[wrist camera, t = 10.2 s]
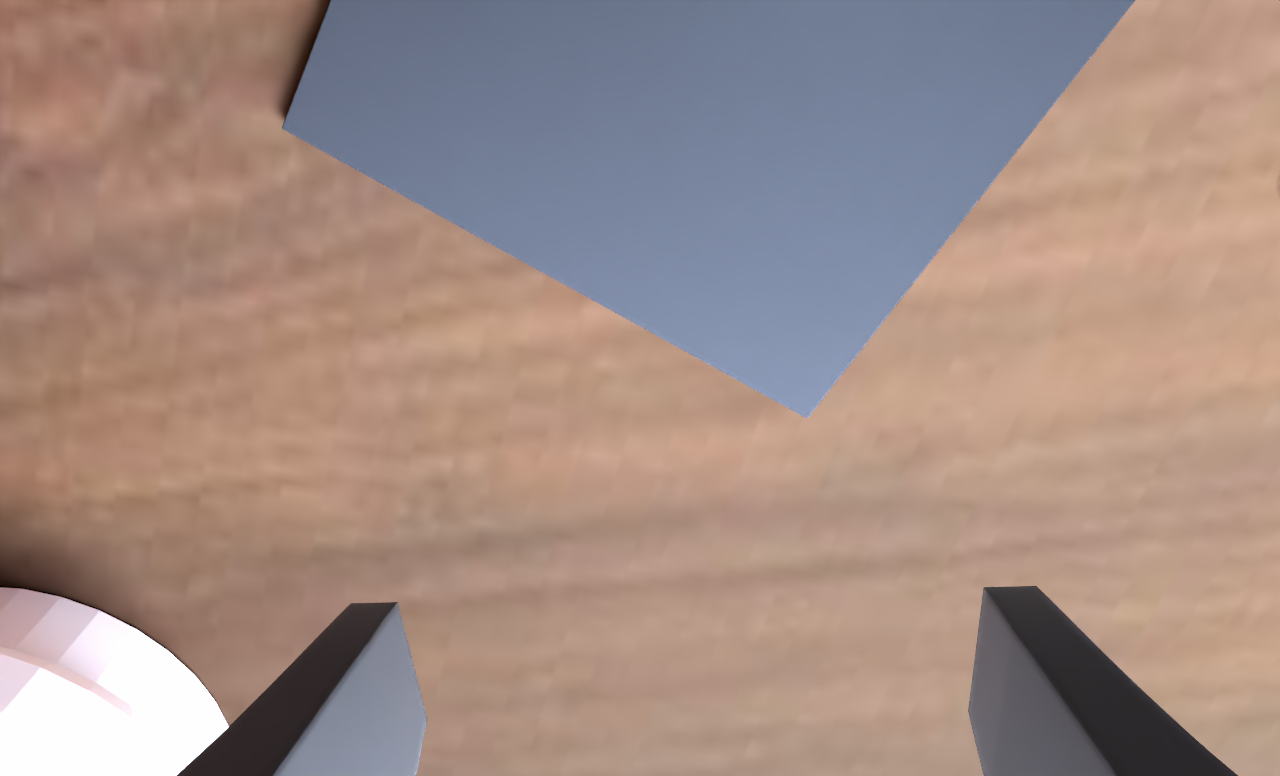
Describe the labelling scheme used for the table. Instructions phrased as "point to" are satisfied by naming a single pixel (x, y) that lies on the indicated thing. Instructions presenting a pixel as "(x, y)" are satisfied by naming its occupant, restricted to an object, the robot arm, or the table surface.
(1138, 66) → the table surface
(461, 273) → the table surface
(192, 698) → the flag stand
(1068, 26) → the desk mat
